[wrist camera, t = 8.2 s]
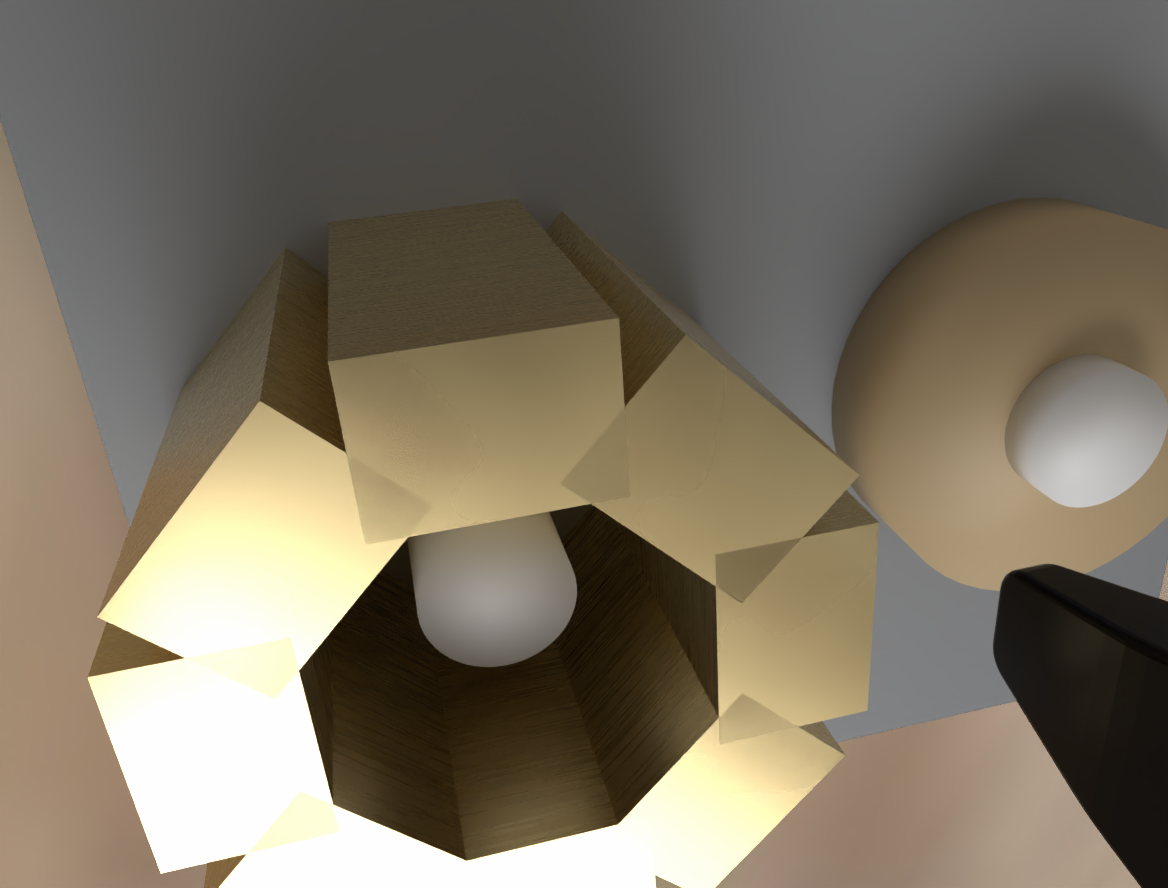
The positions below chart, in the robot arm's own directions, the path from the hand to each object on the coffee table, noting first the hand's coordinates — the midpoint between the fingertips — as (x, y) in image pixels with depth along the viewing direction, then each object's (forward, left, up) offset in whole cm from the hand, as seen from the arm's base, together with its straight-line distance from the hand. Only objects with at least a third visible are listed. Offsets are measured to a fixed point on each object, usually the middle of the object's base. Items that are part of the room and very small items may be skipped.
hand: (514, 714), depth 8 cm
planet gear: (0, 0, -5) cm, 5 cm away
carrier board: (-4, 0, -6) cm, 7 cm away
